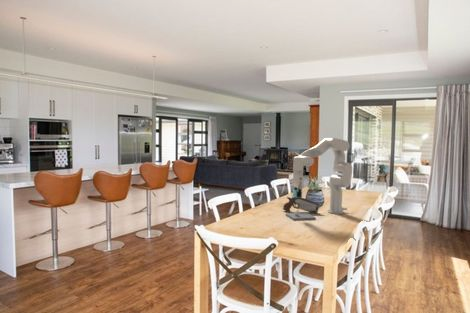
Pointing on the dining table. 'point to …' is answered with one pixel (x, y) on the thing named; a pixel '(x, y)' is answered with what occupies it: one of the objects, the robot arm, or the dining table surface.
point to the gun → (301, 204)
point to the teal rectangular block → (296, 193)
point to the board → (300, 216)
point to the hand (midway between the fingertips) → (297, 195)
